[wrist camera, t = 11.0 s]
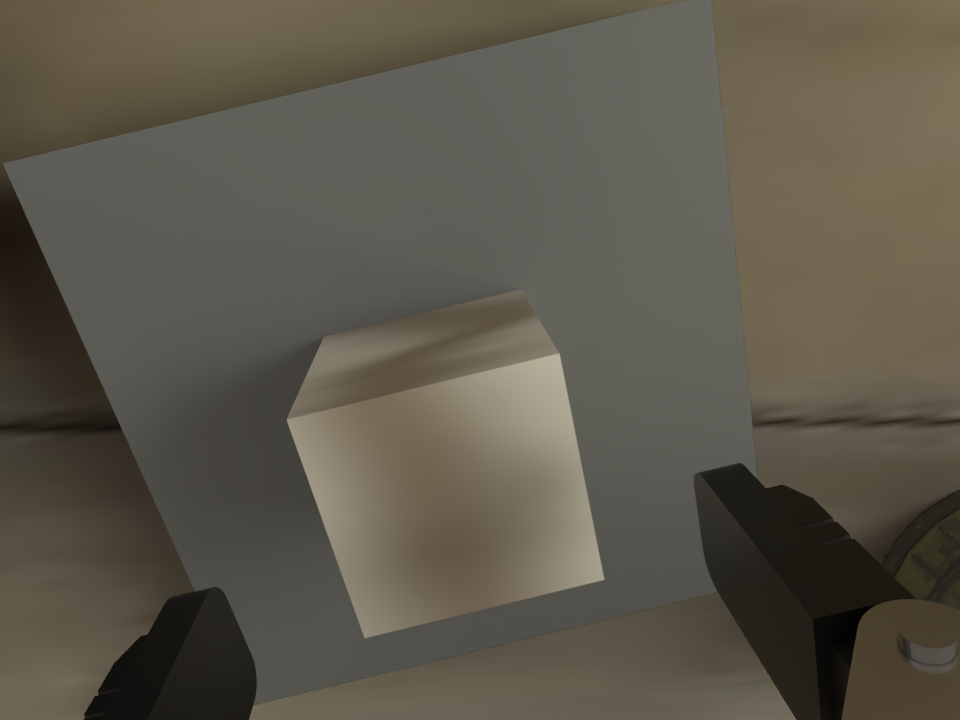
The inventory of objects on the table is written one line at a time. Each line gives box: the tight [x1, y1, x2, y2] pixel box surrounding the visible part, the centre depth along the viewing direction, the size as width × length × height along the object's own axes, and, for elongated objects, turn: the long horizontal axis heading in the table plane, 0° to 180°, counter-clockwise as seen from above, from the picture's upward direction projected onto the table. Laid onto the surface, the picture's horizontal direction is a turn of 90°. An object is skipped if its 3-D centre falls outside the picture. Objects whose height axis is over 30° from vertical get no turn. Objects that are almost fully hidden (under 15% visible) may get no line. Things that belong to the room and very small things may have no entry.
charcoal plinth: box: [3, 0, 758, 705], centre depth 20 cm, size 16×16×4 cm
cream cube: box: [287, 289, 604, 638], centre depth 15 cm, size 5×5×5 cm
